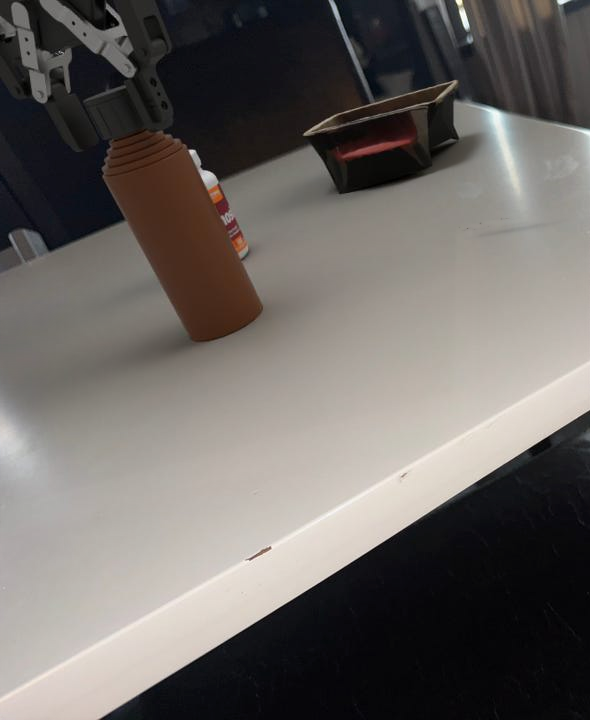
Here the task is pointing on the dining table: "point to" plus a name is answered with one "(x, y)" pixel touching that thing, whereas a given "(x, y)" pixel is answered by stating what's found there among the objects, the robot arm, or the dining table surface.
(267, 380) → the dining table surface
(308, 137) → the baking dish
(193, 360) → the dining table surface
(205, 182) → the pill bottle
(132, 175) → the sauce bottle
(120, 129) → the cap
